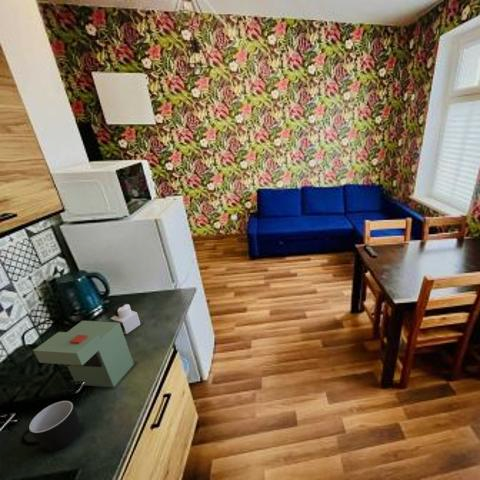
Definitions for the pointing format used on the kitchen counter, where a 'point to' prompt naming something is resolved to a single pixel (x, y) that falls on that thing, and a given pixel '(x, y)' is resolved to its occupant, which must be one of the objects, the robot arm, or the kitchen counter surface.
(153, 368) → the kitchen counter surface
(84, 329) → the coffee machine
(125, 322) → the medicine bottle
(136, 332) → the kitchen counter surface
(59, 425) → the mug
